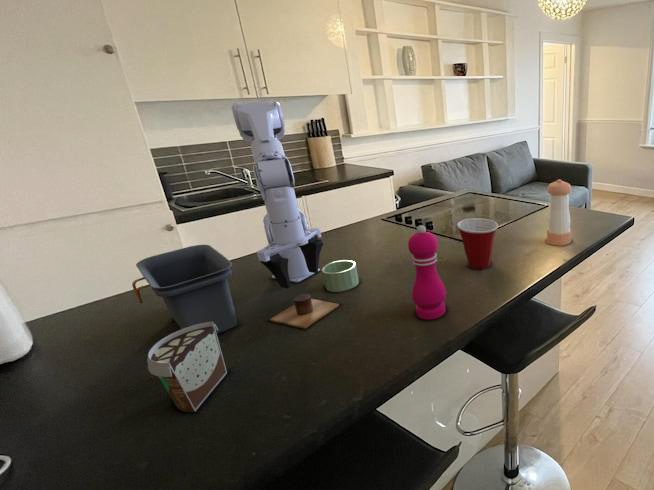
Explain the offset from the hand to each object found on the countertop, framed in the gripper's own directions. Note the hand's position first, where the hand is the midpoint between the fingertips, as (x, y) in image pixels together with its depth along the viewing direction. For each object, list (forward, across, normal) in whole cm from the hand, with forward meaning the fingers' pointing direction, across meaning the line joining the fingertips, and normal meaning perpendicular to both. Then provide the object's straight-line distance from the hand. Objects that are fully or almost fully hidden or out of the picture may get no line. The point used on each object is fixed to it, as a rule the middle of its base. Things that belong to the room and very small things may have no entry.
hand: (300, 279), depth 88 cm
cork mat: (+8, 0, 0) cm, 8 cm away
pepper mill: (+8, +8, -27) cm, 29 cm away
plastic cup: (+8, +34, -27) cm, 44 cm away
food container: (+8, -26, -2) cm, 28 cm away
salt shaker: (+8, +57, -43) cm, 72 cm away
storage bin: (+8, -11, +19) cm, 24 cm away
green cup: (+8, +14, +2) cm, 16 cm away
